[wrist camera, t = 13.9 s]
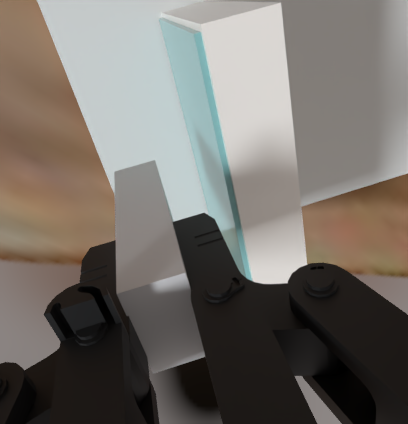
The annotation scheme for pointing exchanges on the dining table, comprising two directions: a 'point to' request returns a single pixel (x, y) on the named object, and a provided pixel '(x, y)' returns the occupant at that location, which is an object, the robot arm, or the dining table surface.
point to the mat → (298, 83)
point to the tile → (241, 128)
